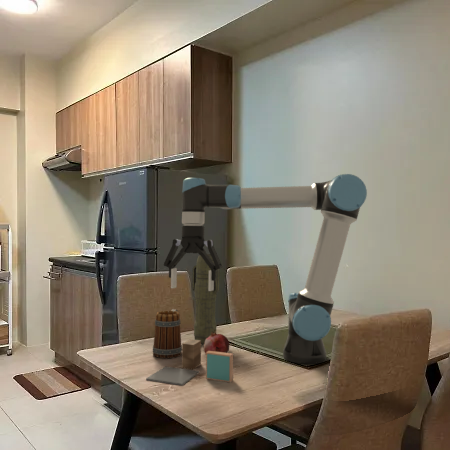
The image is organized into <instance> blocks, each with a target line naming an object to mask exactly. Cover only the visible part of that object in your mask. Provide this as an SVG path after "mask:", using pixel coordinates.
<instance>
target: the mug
mask: <svg viewBox="0 0 450 450" xmlns="http://www.w3.org/2000/svg"><path fill="white" fill-rule="evenodd" d="M153 335H154V337H153V345H152V355H153V356H154V357H156V358H157V359H173V358H178V357H179V356H182V335H181V318H180V313H179V311H178V309H174V308H172V309H171V310H162V311H161V310H160V311H157V312H156V314H155V320H154V334H153Z"/></svg>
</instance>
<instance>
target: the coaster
mask: <svg viewBox="0 0 450 450" xmlns="http://www.w3.org/2000/svg"><path fill="white" fill-rule="evenodd" d="M199 373H200V371H199V370H195V369H194V370H192V369H184V368H182V367H174V366H173V367H171V366H164V367H163V368H159V370H157V371H156V372H153V373H152V374H151V375H149V376H147V377H146V381H151V382H156V383H157V382H158V383H162V384H163V383H165V384H171V385H176V386H184V385H185V384H186V383H188V382H189V381H190V380H192V379H193V378H194V377H195V376H197V375H198V374H199Z"/></svg>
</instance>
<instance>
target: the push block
mask: <svg viewBox="0 0 450 450" xmlns="http://www.w3.org/2000/svg"><path fill="white" fill-rule="evenodd" d="M181 345H182V353H181V356H182V357H181V369H184V368H186V369H188V370H193V369H194V370H195V369H197V367H199V366H200V365H202V364H201V363H202V344H201V340H195V339H188V340H186V341H185V342H183V343H181Z"/></svg>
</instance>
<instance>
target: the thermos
mask: <svg viewBox="0 0 450 450" xmlns="http://www.w3.org/2000/svg"><path fill="white" fill-rule="evenodd" d="M207 255H208V256H209V257H210V259H211V260H212V261H213V259H212V257H211V255H210V253H207ZM213 263H214V261H213ZM209 271H211V269H210V268H209V266H208V265H207V264H206V262H205V261H204V259H203V258H202V257H201V255H199V254H198V257H197V260H196V265H194V266H193V267H192V283H191V284H192V286H191V287H192V291H194V299H195V321H194V325H193V336H194V340H201V345H204V343H205V340H206V339H207V338H208V337H209V336H210V335H211V333H212V332H214V330H215V331H216V332H217V322H216V299H217V294H218V292H220V276H221V275H220V274H221V273H220V272H221V270H220V269H218V270H217V276H216V280H215V281H214V290H213V291H208V285H209ZM214 333H215V332H214Z"/></svg>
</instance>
